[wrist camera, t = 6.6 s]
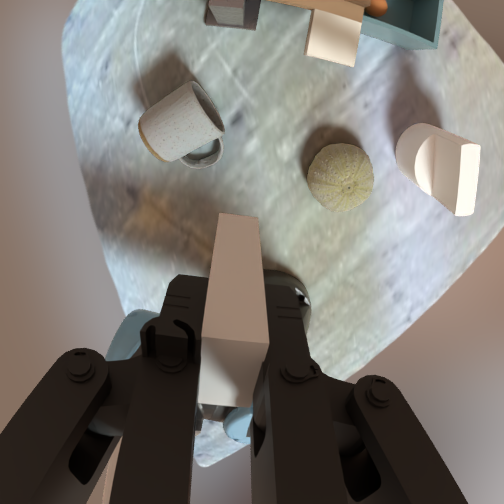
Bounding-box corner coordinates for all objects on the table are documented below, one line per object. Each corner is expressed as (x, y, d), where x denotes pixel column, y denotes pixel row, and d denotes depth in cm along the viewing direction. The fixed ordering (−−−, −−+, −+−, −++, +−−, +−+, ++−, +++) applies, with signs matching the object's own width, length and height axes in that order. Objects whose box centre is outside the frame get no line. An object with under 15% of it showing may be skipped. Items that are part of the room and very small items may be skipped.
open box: (408, 50, 33) (436, 49, 26) (337, 26, 32) (356, 18, 26) (415, 0, 29) (444, -8, 22) (346, -26, 28) (365, -42, 21)
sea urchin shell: (380, 142, 38) (388, 198, 36) (359, 169, 46) (364, 219, 44) (314, 132, 38) (317, 190, 36) (300, 162, 45) (302, 214, 43)
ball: (383, 14, 27) (357, 9, 29) (388, 22, 30) (364, 17, 31) (386, -8, 26) (360, -12, 27) (391, 1, 28) (367, -3, 29)
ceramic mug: (144, 113, 38) (124, 124, 31) (196, 78, 36) (186, 79, 29) (188, 176, 42) (178, 198, 36) (240, 145, 40) (240, 161, 34)
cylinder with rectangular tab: (394, 123, 39) (440, 143, 28) (446, 123, 38) (497, 144, 28) (394, 183, 43) (434, 219, 33) (444, 180, 43) (489, 213, 32)
